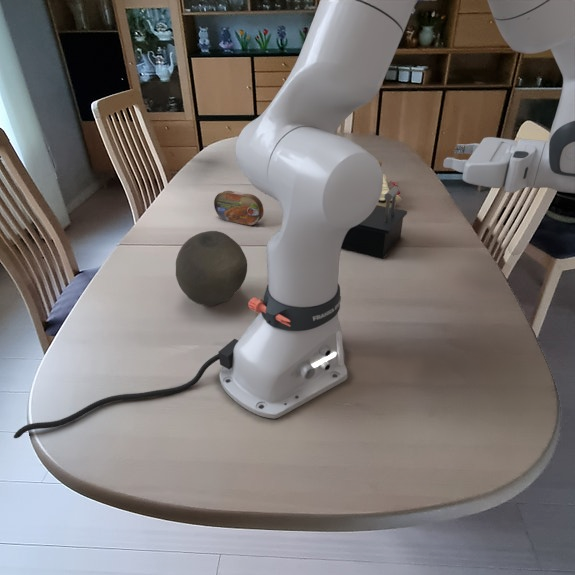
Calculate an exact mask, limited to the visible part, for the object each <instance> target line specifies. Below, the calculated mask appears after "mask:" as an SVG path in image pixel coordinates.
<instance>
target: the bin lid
mask: <svg viewBox="0 0 575 575" xmlns="http://www.w3.org/2000/svg"><path fill="white" fill-rule="evenodd" d="M397 186H398V185H397ZM397 186H394V185H393V186H392V187H391V188H389V191H388V192H387V193H386V194H385V199H386V200H387V202H386V207H384V206H379V205H376V207H375V209H374V210H373V212H372V213H371V214H370V215H369V216H368V217H367V218H366V219H365V220H364V221H363V222H361V223H360V224H358V225H357V226H356V227H361V228H365V229H370V230H374V231H378V232H383V233H387V234H389V233H390V232H391V231H392V230H393V228H394V227H395V226H396V225H397V224H398V223H399V222H400V221H401V220H402V219H403V220H404V218H405V217H406V216H407V215H408V211H407V210H404V209H398V208H396V205H395V204H396V203H397V201H396V194H397V193H398V192H399V191H400V188H399V186H398V187H397ZM391 199H392V207H390V200H391Z"/></svg>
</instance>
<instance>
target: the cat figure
mask: <svg viewBox="0 0 575 575" xmlns="http://www.w3.org/2000/svg"><path fill="white" fill-rule="evenodd" d="M378 162H379V164H380V166H381V167H382V164H383V160H378ZM390 183H392V186H393V187H394V186H397V187H398V188H399V186H398V184H396V182H394V181H392V180H390ZM389 190H390V188H389V184H388V177H387V175H386V174H383V187H382V193H381V196H380V199H379V201H378V204H377V205H379V206H384V207H386V202H387V200H386V199H385V194H386V193H387V192H388V191H389ZM400 195H401V191H400V190H399V192H398V193H397V194H396V203H399V202H402V197H400ZM396 203H395V206H396V205H397V204H396ZM391 207H392V199H391V200H390V208H391Z"/></svg>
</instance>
